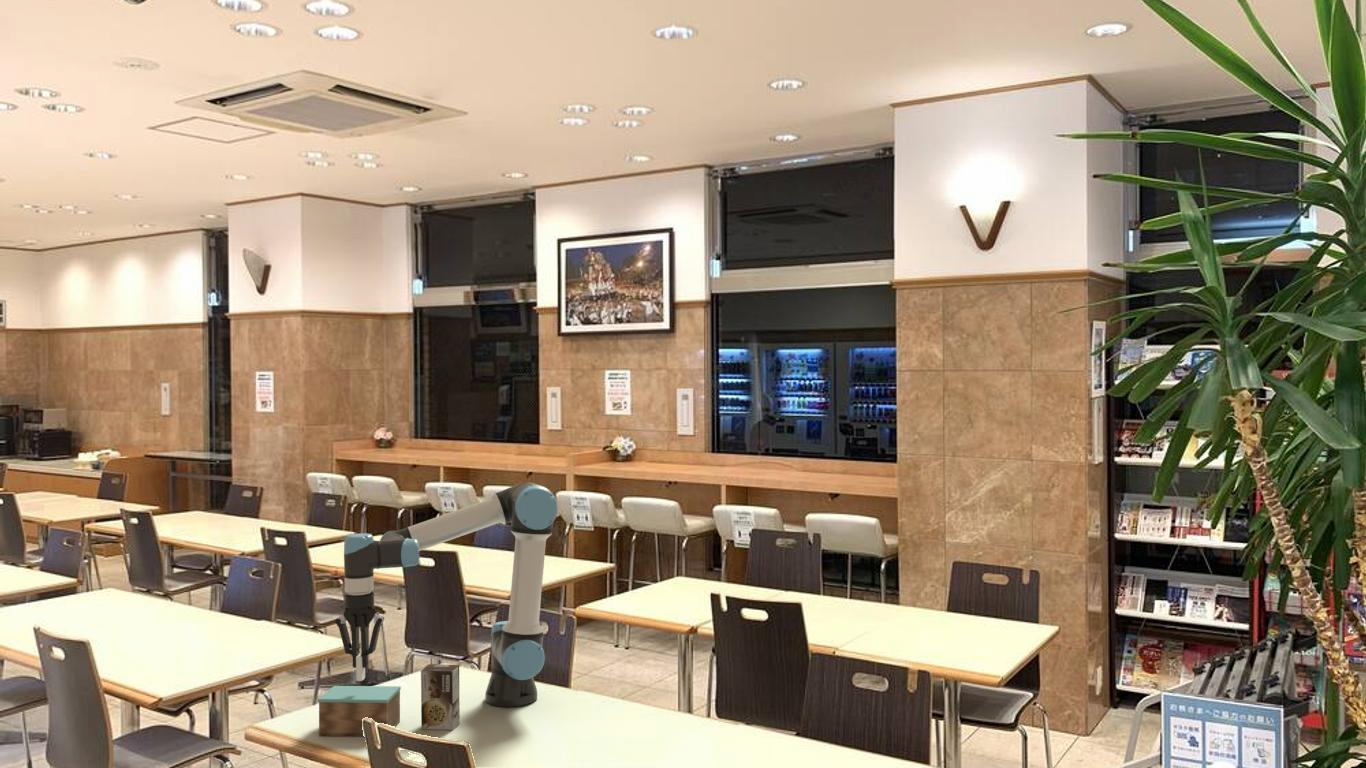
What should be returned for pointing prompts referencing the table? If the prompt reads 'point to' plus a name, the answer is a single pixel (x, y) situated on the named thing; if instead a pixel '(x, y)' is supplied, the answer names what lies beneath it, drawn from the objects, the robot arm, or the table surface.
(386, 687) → the lid
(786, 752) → the table surface
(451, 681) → the coffee box
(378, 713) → the box
